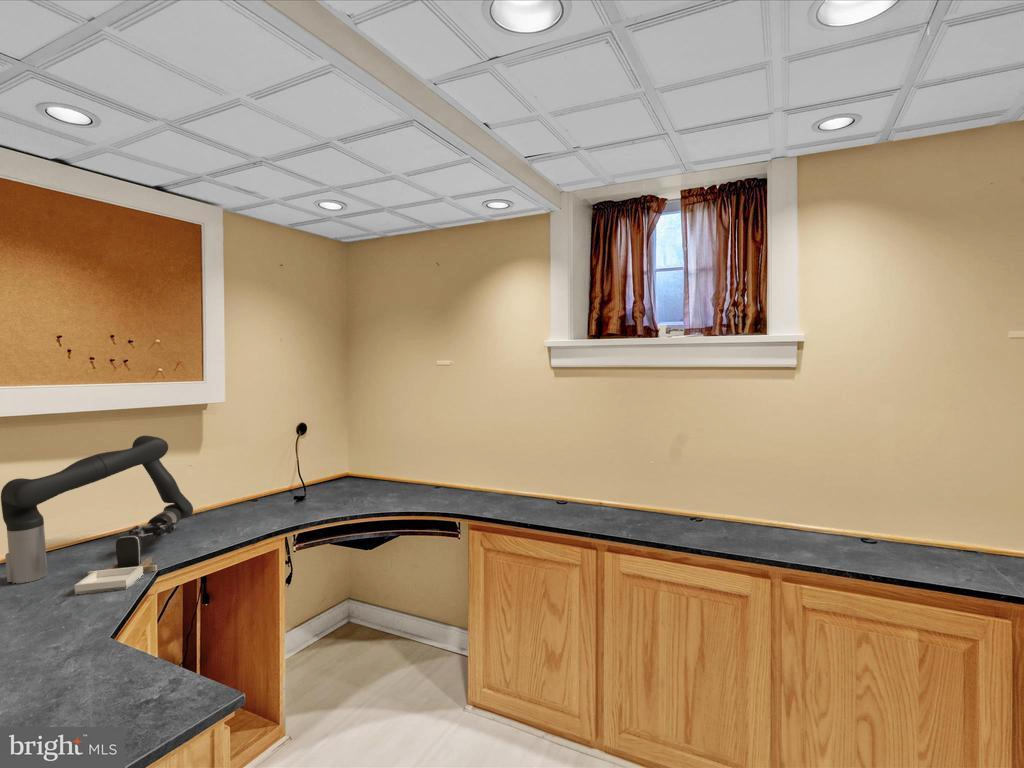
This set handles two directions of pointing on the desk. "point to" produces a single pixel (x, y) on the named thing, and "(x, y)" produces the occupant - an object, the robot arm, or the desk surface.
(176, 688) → the desk surface
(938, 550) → the desk surface
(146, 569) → the dock
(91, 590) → the tray
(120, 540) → the battery charger
